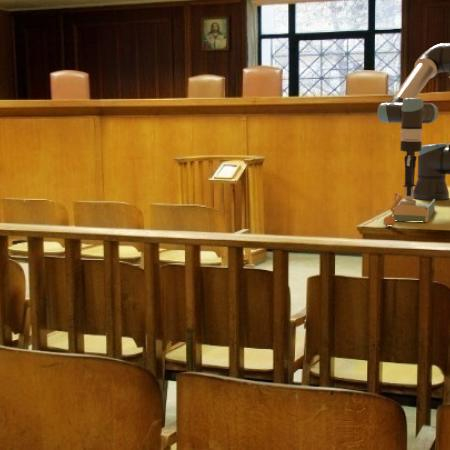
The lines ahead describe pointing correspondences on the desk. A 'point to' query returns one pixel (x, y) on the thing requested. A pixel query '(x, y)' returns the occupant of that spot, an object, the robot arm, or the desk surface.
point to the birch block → (407, 202)
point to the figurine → (390, 219)
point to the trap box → (414, 212)
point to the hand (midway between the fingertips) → (408, 204)
